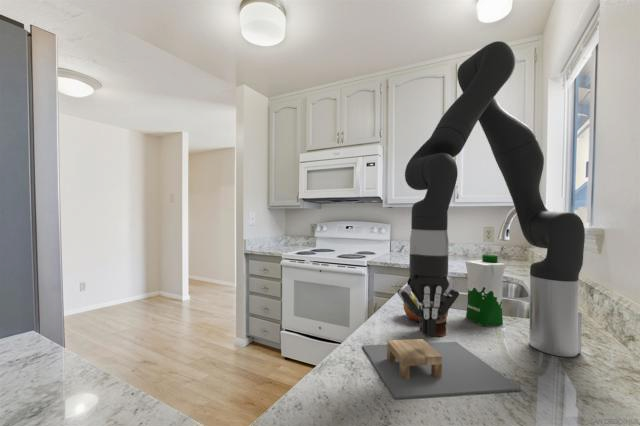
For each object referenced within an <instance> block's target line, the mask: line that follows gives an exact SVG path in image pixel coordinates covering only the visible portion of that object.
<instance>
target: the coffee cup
mask: <svg viewBox="0 0 640 426" xmlns="http://www.w3.org/2000/svg"><path fill="white" fill-rule="evenodd" d="M443 295H444V294H443ZM442 297H443V296H442ZM442 297H441V298H442ZM448 313H449V310H448V311H447V312H446V314H445V315H444V316H442V315H441V316H438V317H437V318H436V332H435V334H433V337H435V336H437V337H439V336H440V337H441V336H442V337H443V336H446V335H447V334H448V333H447V327H446V326H447V321H448V320H447V318H448Z"/></svg>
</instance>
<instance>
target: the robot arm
mask: <svg viewBox="0 0 640 426" xmlns="http://www.w3.org/2000/svg"><path fill="white" fill-rule="evenodd" d="M516 65H517V59H516V55H515V52H514V50H513V48H512V47H511V45H509V44H508V43H506V42H504V41H492V42H490V43H488V44H486V45H485V46H483V47H482V48H480V49H479V50H478V51H477V52H475V53H474V54H473V55H471V56H469V58H467V59H465V60H464V61H463V62H462V63H461V64H460V65H459V67H458V69H457V82H458V85H459V87H460V89H461V92H462V93H461V94H460V95H459V97H458V98H457V99H456V100H455V101H454V102H453V103H452V104H451V106H449V107H448V109H447V110H446V112H445V113H443V115H442V117H441V118H440V120H439V121H438V123H437V125H436V127H435V128H434V130H433V132H432V134H431V136H430V137H428V139H427V140H426V141H425V142H424V143H423V144H422V145H421V146H420V147H419V149H418V150H417V151H416V152H414V154H413V155H412V156H411V157H410V159H409V161H408V163H407V164H406V167H405V171H404V180H405V182H406V184H407V185H408V187H409V188H410V189H412V190H414V191H415V190H416V191H426V193H425V195H424V198H423V199H421V200H418V201H416V202H415V203H414V204H413V205H412V206H411V221H410V223H411V231H410V237H409V264H408V265H409V267H408V269H409V270H408V272H409V278H408V279H407V285H406V286H404V288H402V289H398V290H397V292H396V293H397V295H398V296H399V297H400V299H401V300H402V301H403V304H404V303H405V304H406V306H407V307H408V308H409V310H410V311H411V312H412V313H414V314H415V315H416V316H418V317H420V322H419V328H418V330H419V331H420V333H421V334H422V336H424V337H425V338H433V337H434V335H433V334H435V332H436V318H437V317H438V316H441V315H442V316H444V315H445V314H446V312H447V311H448V312H449V311H450V308H451V307H452V306H453V304H454V303H455V302H456V300H457V299H458V298H459V296H460V292H459V291H457V290H456V289H454V288H452V287H451V286H450V282H449V280H448V275H449V250H450V248H449V246H450V244H449V243H450V242H449V235H448V224H449V223H448V220H449V219H448V211H449V207H450V204H451V202H452V197H453V194H454V191H455V187H456V184H457V180H458V175H459V174H458V166H457V163H456V161H455V159H454V158H455V157H457V156H458V155H459V154H461V152H462V150H463V148H464V147H465V145H466V143H467V141H468V139H469V137H470V136H471V133H472V131H473V130H474V127H475V126H476V124H477V123H478V122H479V124H480V127H481V129H482V131H483V133H484V135H485V137H486V140H487V142H488V144H489V146H490V150H491V153H492V154H493V157H494V160H495V162H496V164H497V166H498V168H499V170H500V172H501V175H502V177H503V179H504V182H505V184H506V186H507V187H506V188H507V189H508V193H509V194H510V198H511V200H512V202H513V206H514V209H515V211H516V212H515V213H516V216H517V219H518V223H519V226H520V229H521V232H522V235H523V236H524V239H525V240H526V242H528V243H529V245H531V246H533V247H536V248H540V249H546V250H547V251H546V256H545V258H544V259H543V260H540V261H537V262H533V263H531V264H530V267H529V325H528V326H529V327H528V328H529V329H528V330H529V332H528V333H529V334H528V335H529V338H528V339H529V346H531V347H532V348H534V349H536V350H537V351H539V352H542V353H545V354H549V355H552V356H557V357H562V358H563V357H564V358H573V357H577V356H578V354H582V331H583V330H582V328H583V327H582V323H583V322H582V319H583V318H582V315H583V313H582V312H581V311H580V310H579V278H580V277H579V275H580V273H581V271H582V268H583V263H584V254H585V253H584V251H585V239H586V238H585V237H586V235H585V234H586V232H585V226H584V223H583V222H584V221H583V220H582V218H581V217H580V215H578V214H577V213H574V212H572V211H559V210H558V211H548V210H547V208H546V206H545V204H544V202H543V198H542V196H541V193H540V184H541V179H542V176H543V170H544V165H545V158H544V153H543V150H542V148H541V145H540V143H539V141H538V138H537V136H536V134H535V132H534V130H533V129H532V128H531V127H529V126H528V125H527V124H526V123H525V122H523V121H522V120H519V119H518V118H516V117H515V116H513V115H511V114H510V113H509V112H507V111H506V110H505V109H503V107H502V106H501V105H500V104H499V102H498V101H497V99H496V95H497V94H498V93H499V91H500V90H501V89H502V88H503V86H504V85H505V84H506V83H507V82H508V80H509V79H510V78H511V77H512V75H513V74H514V72H515V69H516ZM412 294H414V296H415V297H416V299H417V304H418V307H417V306H416V305H415V303H414V302H413V301H412V299H411V297H412ZM443 294H444V295H443ZM442 296H443V297H442ZM441 297H442V298H441Z"/></svg>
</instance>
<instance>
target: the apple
mask: <svg viewBox="0 0 640 426" xmlns="http://www.w3.org/2000/svg"><path fill="white" fill-rule="evenodd" d="M411 294H412V297H411V299H412V301H413V302H414V303H415V305H416V306H417V307H418V304H417V299H416V297H415V296H414V294H413V293H411ZM403 310H404V312H405V315H406V316H407V317H408V318H409V319H411V320H412V321H415V322H419V323H420V317H418V316H416V315H415V314H414V313H412V312H411V311H410V310H409V308H408V307H407V306H406V304H405V303H404V302H403Z"/></svg>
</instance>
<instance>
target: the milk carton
mask: <svg viewBox="0 0 640 426" xmlns="http://www.w3.org/2000/svg"><path fill="white" fill-rule="evenodd" d="M498 257H499V256H498V255H496V254H482V260H481V259H479V260H474V259H473V260H465V262H464V263H465V267H466V271H467V303H466V304H467V305H466V315H465V319H467V320H469V321H471V322H474V323H476V324H479V325H481V326H483V327H489V326H500V325H503V324H504V323H503V322H504V320H503V318H504V317H503V277H504V273H505V268H506V263H501V262H498V259H499V258H498Z"/></svg>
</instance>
